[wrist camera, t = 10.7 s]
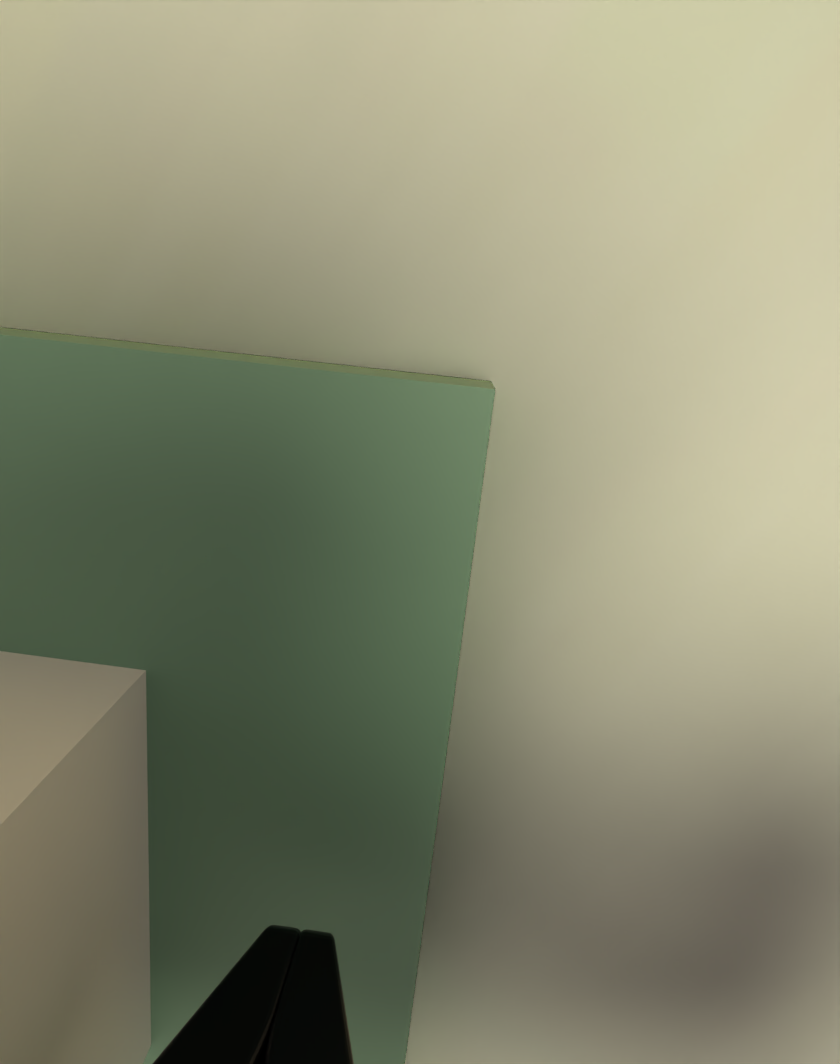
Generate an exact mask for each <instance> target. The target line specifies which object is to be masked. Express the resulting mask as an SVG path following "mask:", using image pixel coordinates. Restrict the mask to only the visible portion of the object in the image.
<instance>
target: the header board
mask: <svg viewBox="0 0 840 1064" xmlns="http://www.w3.org/2000/svg"><path fill="white" fill-rule="evenodd" d="M494 395H495V388H494V386H493V384H492V382H491V381H484V380H475V379H466V378H457V377H448V376H439V375H430V374H421V373H412V372H402V371H393V370H384V369H375V368H366V367H357V366H348V365H339V364H330V363H321V362H312V361H303V360H293V359H284V358H275V357H266V356H257V355H248V354H239V353H230V352H221V351H212V350H203V349H194V348H184V347H175V346H166V345H157V344H148V343H139V342H130V341H121V340H112V339H103V338H94V337H85V336H76V335H66V334H57V333H48V332H39V331H30V330H21V329H12V328H3V327H0V651H3V652H11V653H18V654H26V655H34V656H41V657H49V658H56V659H64V660H71V661H79V662H86V663H94V664H102V665H109V666H117V667H124V668H132V669H139V670H146V708H147V781H148V854H149V927H150V1000H151V1046H150V1048H149V1051H148V1053H147V1055H146V1057H145V1060H144V1062H143V1064H153V1062H154V1061H155V1060H156V1059H157V1058H158V1056H159V1055H160V1054H161V1053H162V1052H163V1050H164V1049H165V1048H166V1047H167V1046H168V1044H169V1043H170V1042H171V1041H172V1040H173V1038H174V1037H175V1036H176V1035H177V1034H178V1032H179V1031H180V1030H181V1029H182V1028H183V1026H184V1025H185V1024H186V1023H187V1022H188V1020H189V1019H190V1018H191V1017H192V1016H193V1014H194V1013H195V1012H196V1011H197V1010H198V1008H199V1007H200V1006H201V1005H202V1004H203V1002H204V1001H205V1000H206V999H207V998H208V996H209V995H210V994H211V993H212V992H213V990H214V989H215V988H216V987H217V986H218V985H219V983H220V982H221V981H222V980H223V979H224V977H225V976H226V975H227V974H228V973H229V971H230V970H231V969H232V968H233V967H234V965H235V964H236V963H237V962H238V961H239V959H240V958H241V957H242V956H243V955H244V953H245V952H246V951H247V950H248V949H249V947H250V946H251V945H252V944H253V943H254V941H255V940H256V939H257V938H258V937H259V935H260V934H261V933H262V932H263V931H264V930H265V929H266V928H267V927H268V926H270V925H280V926H287V927H294V928H297V929H299V930H300V931H303V930H306V929H308V930H315V931H323V932H329V933H331V934H332V935H333V936H334V939H335V945H336V951H337V958H338V964H339V971H340V977H341V984H342V990H343V997H344V1003H345V1010H346V1016H347V1023H348V1029H349V1036H350V1042H351V1049H352V1055H353V1062H354V1064H405V1058H406V1051H407V1043H408V1036H409V1028H410V1021H411V1013H412V1006H413V998H414V991H415V983H416V976H417V969H418V961H419V954H420V946H421V939H422V931H423V924H424V916H425V909H426V902H427V894H428V887H429V879H430V872H431V864H432V857H433V849H434V842H435V835H436V827H437V820H438V812H439V805H440V797H441V790H442V782H443V775H444V768H445V760H446V753H447V745H448V738H449V730H450V723H451V715H452V708H453V700H454V693H455V686H456V678H457V671H458V663H459V656H460V648H461V641H462V633H463V626H464V619H465V611H466V604H467V596H468V589H469V581H470V574H471V566H472V559H473V552H474V544H475V537H476V529H477V522H478V514H479V507H480V499H481V492H482V485H483V477H484V470H485V462H486V455H487V447H488V440H489V432H490V425H491V417H492V410H493V403H494Z"/></svg>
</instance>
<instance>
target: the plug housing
mask: <svg viewBox="0 0 840 1064" xmlns="http://www.w3.org/2000/svg"><path fill="white" fill-rule="evenodd" d="M150 1046H151V1000H150V927H149V854H148V781H147V708H146V670H139V669H132V668H124V667H117V666H109V665H102V664H94V663H86V662H79V661H71V660H64V659H56V658H49V657H41V656H34V655H26V654H18V653H11V652H3V651H0V1064H143V1062H144V1060H145V1057H146V1055H147V1053H148V1051H149V1048H150Z"/></svg>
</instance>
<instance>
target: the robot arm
mask: <svg viewBox="0 0 840 1064" xmlns="http://www.w3.org/2000/svg"><path fill="white" fill-rule="evenodd" d="M153 1064H354V1062H353V1055H352V1049H351V1042H350V1036H349V1029H348V1023H347V1016H346V1010H345V1003H344V997H343V990H342V984H341V977H340V971H339V964H338V958H337V951H336V945H335V939H334V936H333V935H332V934H331V933H329V932H323V931H315V930H308V929H306V930H303V931H300V930H299V929H297V928H294V927H287V926H280V925H270V926H268V927H267V928H266V929H265V930H264V931H263V932H262V933H261V934H260V935H259V937H258V938H257V939H256V940H255V941H254V943H253V944H252V945H251V946H250V947H249V949H248V950H247V951H246V952H245V953H244V955H243V956H242V957H241V958H240V959H239V961H238V962H237V963H236V964H235V965H234V967H233V968H232V969H231V970H230V971H229V973H228V974H227V975H226V976H225V977H224V979H223V980H222V981H221V982H220V983H219V985H218V986H217V987H216V988H215V989H214V990H213V992H212V993H211V994H210V995H209V996H208V998H207V999H206V1000H205V1001H204V1002H203V1004H202V1005H201V1006H200V1007H199V1008H198V1010H197V1011H196V1012H195V1013H194V1014H193V1016H192V1017H191V1018H190V1019H189V1020H188V1022H187V1023H186V1024H185V1025H184V1026H183V1028H182V1029H181V1030H180V1031H179V1032H178V1034H177V1035H176V1036H175V1037H174V1038H173V1040H172V1041H171V1042H170V1043H169V1044H168V1046H167V1047H166V1048H165V1049H164V1050H163V1052H162V1053H161V1054H160V1055H159V1056H158V1058H157V1059H156V1060H155V1061H154V1062H153Z"/></svg>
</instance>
